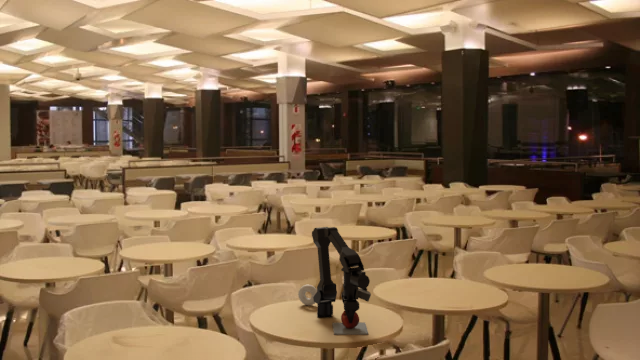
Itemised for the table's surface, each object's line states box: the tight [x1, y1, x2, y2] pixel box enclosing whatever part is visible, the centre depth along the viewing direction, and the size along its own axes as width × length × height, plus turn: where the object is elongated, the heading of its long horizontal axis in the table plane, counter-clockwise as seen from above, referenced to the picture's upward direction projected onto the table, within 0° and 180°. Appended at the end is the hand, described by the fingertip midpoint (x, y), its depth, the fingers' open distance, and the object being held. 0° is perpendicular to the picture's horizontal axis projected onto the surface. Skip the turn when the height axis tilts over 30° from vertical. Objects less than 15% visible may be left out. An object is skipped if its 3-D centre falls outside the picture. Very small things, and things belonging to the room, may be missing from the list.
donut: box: [297, 283, 317, 306], centre depth 319 cm, size 10×4×10 cm, turn 70°
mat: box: [332, 321, 369, 336], centre depth 285 cm, size 14×14×1 cm
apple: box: [340, 310, 360, 329], centre depth 285 cm, size 7×8×8 cm
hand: (350, 319), depth 285 cm, fingers open, 9 cm apart
